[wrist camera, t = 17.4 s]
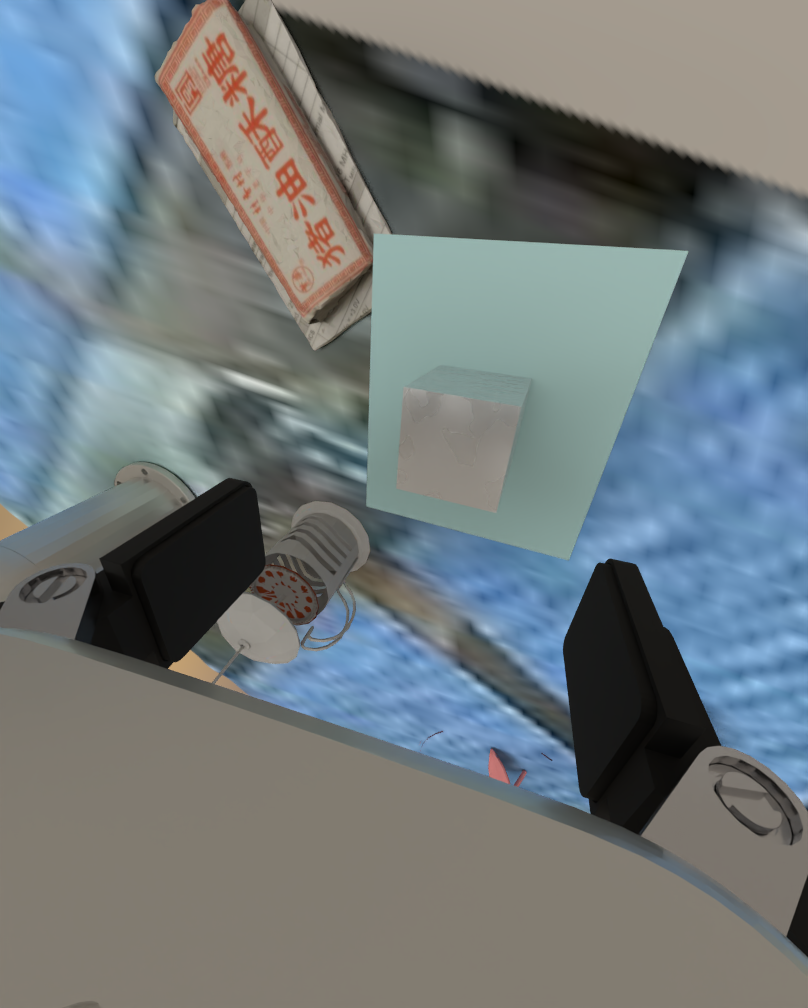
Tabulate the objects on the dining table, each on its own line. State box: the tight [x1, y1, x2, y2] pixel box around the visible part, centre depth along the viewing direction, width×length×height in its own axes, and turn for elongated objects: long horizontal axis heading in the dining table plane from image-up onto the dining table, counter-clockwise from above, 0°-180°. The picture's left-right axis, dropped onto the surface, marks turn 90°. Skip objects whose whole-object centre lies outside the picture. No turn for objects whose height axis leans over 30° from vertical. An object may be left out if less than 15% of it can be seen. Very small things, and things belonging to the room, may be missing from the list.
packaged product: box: [155, 0, 392, 350], centre depth 26 cm, size 18×5×10 cm
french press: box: [212, 501, 370, 684], centre depth 32 cm, size 10×12×25 cm
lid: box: [366, 234, 688, 560], centre depth 22 cm, size 16×14×1 cm
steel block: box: [396, 365, 532, 513], centre depth 19 cm, size 5×5×6 cm
